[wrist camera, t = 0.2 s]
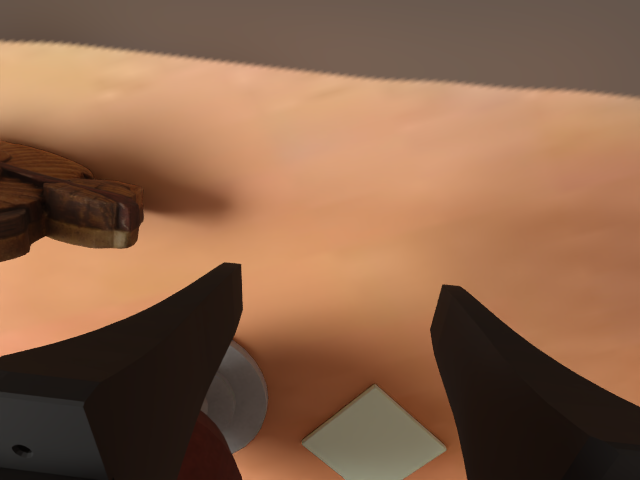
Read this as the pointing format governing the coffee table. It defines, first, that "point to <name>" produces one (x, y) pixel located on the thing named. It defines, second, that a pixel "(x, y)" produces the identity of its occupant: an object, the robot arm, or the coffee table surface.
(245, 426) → the mate gourd
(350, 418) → the pad
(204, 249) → the coffee table surface
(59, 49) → the coffee table surface
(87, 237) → the wooden carving
